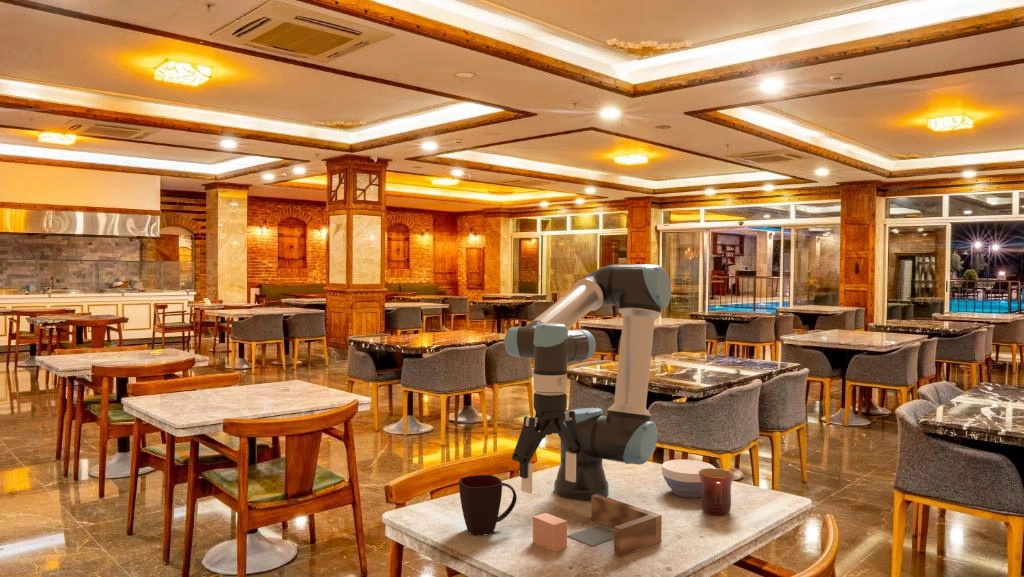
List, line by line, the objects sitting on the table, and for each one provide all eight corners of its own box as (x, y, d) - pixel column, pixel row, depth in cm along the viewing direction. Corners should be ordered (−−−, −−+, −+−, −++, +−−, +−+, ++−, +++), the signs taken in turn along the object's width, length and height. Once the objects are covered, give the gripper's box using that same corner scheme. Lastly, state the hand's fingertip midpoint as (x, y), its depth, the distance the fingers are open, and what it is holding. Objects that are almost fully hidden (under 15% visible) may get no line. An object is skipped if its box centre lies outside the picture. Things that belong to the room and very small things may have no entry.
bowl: (706, 505, 188) (706, 476, 187) (654, 495, 195) (654, 468, 195) (721, 490, 200) (721, 464, 200) (671, 482, 208) (672, 456, 207)
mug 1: (455, 526, 172) (455, 477, 171) (509, 519, 176) (509, 471, 176) (465, 541, 162) (465, 489, 162) (522, 533, 167) (522, 483, 167)
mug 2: (697, 505, 187) (697, 467, 187) (731, 508, 185) (732, 469, 185) (700, 521, 175) (700, 480, 175) (736, 524, 174) (737, 482, 173)
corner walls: (556, 531, 169) (556, 506, 169) (596, 517, 178) (597, 494, 178) (620, 556, 154) (621, 529, 153) (661, 541, 163) (661, 515, 162)
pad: (567, 536, 165) (567, 535, 165) (599, 525, 173) (599, 524, 173) (592, 546, 159) (592, 545, 159) (624, 534, 166) (624, 533, 166)
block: (532, 542, 162) (532, 516, 162) (545, 538, 164) (545, 512, 164) (554, 552, 156) (554, 525, 156) (567, 547, 159) (567, 520, 159)
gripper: (519, 400, 149) (518, 501, 149) (600, 389, 165) (599, 480, 165) (496, 395, 154) (495, 492, 155) (577, 385, 170) (576, 473, 171)
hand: (549, 486), depth 160 cm, fingers open, 13 cm apart
